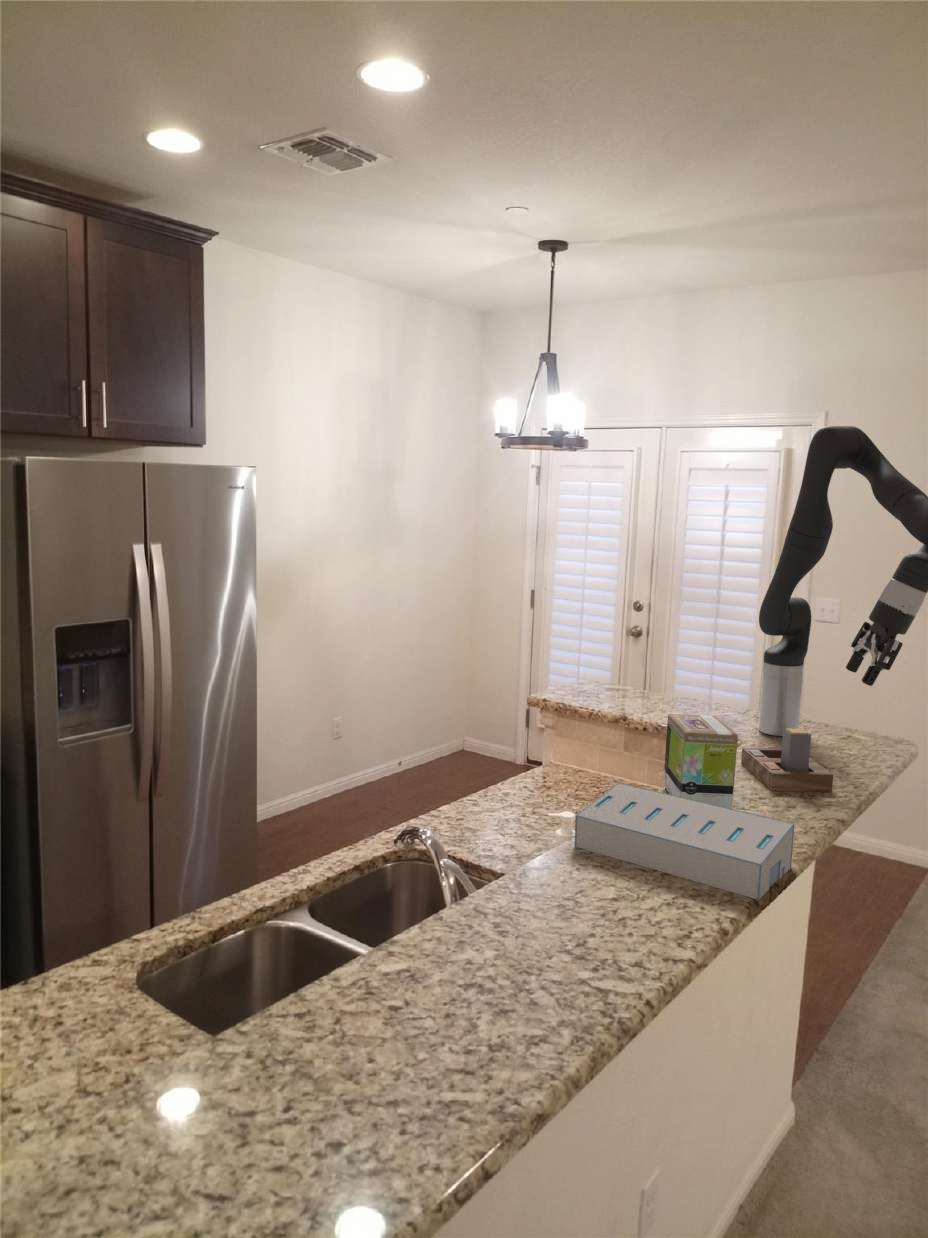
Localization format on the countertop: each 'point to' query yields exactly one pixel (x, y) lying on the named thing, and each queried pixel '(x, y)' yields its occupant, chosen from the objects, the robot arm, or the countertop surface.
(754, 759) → the dock
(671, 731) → the tea box
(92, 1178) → the countertop surface
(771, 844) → the multi-port usb hub
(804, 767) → the grey rectangular block
